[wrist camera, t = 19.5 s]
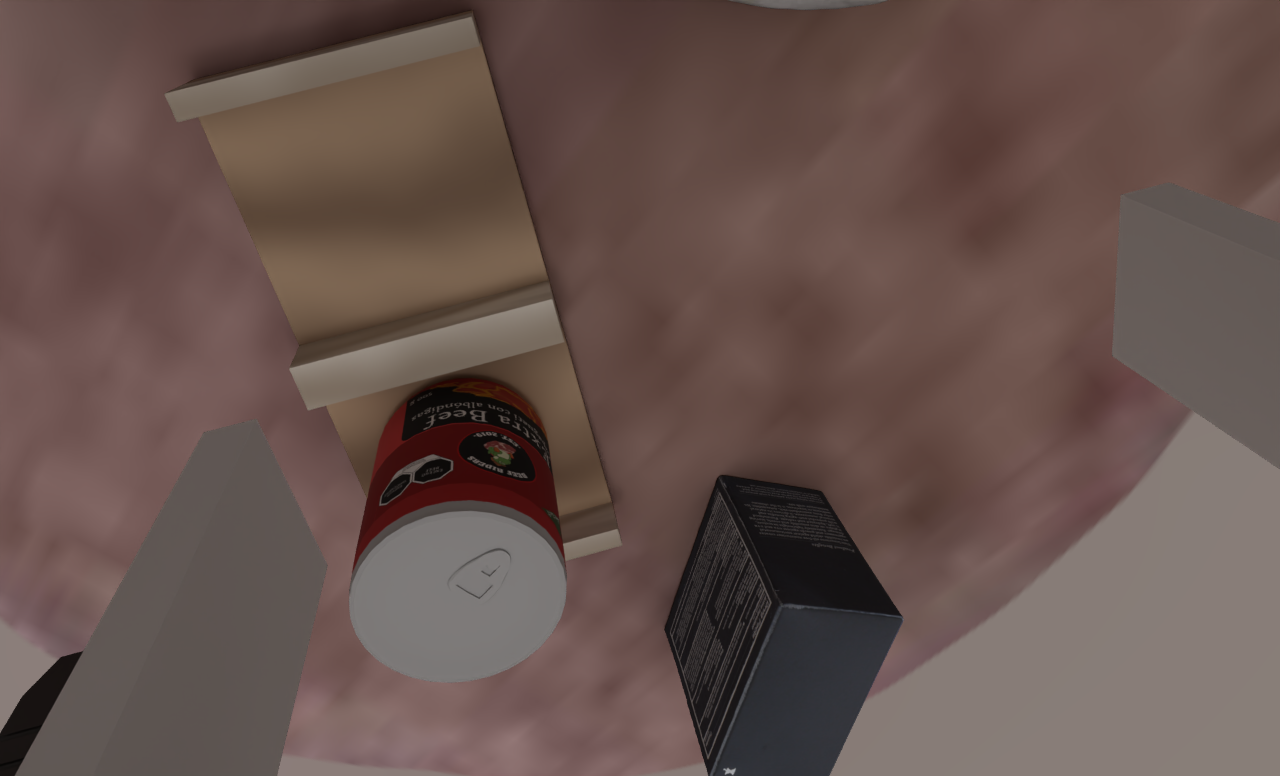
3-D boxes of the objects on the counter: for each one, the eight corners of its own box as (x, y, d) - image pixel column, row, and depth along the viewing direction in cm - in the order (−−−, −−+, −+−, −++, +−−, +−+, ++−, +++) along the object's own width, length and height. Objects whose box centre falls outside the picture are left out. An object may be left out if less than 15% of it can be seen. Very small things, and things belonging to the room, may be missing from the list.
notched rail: (193, 79, 34) (164, 93, 31) (472, 10, 35) (471, 16, 32) (403, 561, 45) (397, 607, 42) (612, 504, 46) (622, 545, 43)
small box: (767, 642, 52) (829, 795, 43) (661, 630, 50) (701, 787, 41) (830, 489, 48) (914, 622, 38) (716, 471, 46) (775, 605, 37)
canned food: (575, 405, 42) (604, 547, 32) (506, 538, 44) (513, 706, 35) (417, 346, 39) (395, 480, 29) (353, 490, 42) (315, 657, 32)
